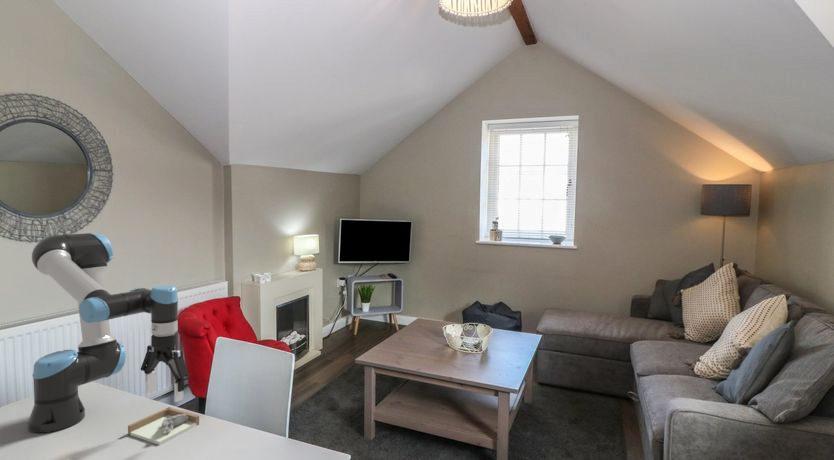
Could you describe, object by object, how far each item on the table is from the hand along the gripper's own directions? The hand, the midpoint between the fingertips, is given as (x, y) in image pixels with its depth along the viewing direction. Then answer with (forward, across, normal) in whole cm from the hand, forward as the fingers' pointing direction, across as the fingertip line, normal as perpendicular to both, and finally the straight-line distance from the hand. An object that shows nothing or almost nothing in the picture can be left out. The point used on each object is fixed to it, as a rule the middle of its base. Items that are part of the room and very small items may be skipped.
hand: (164, 396), depth 145 cm
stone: (+13, +4, -1) cm, 13 cm away
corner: (+12, -1, +1) cm, 12 cm away
